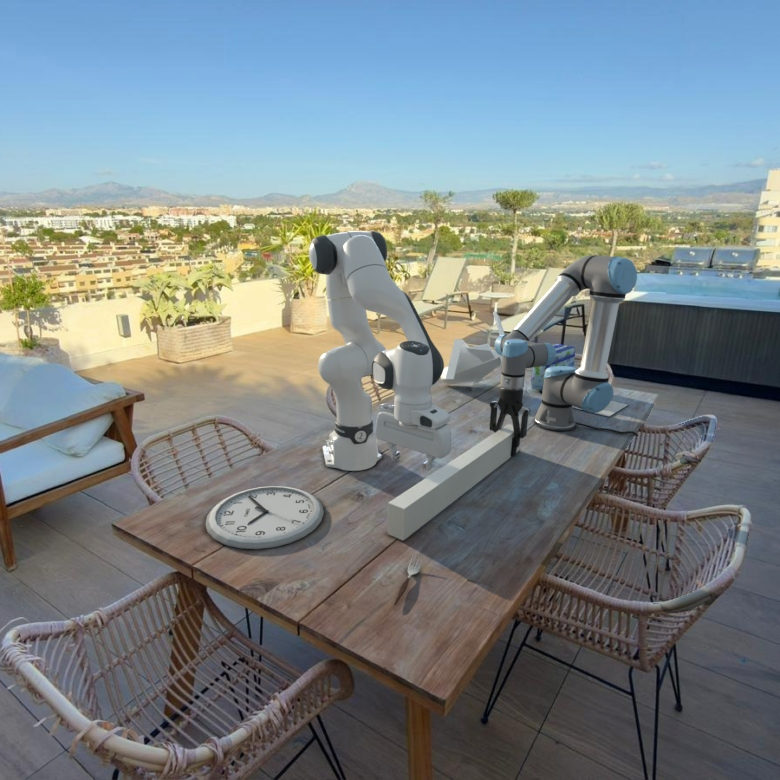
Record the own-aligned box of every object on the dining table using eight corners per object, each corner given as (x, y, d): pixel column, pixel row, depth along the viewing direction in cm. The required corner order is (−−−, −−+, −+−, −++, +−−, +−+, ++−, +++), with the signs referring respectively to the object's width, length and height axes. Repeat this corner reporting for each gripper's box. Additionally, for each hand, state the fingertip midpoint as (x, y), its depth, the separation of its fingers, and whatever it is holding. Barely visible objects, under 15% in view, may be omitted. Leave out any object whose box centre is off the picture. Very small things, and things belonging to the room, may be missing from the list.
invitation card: (608, 416, 214) (573, 407, 224) (608, 416, 214) (573, 408, 224) (628, 404, 229) (594, 396, 238) (628, 405, 229) (594, 397, 238)
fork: (388, 605, 105) (388, 597, 104) (412, 560, 119) (412, 553, 119) (400, 609, 104) (400, 600, 104) (423, 563, 119) (423, 555, 118)
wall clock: (321, 540, 123) (190, 545, 121) (321, 546, 124) (191, 551, 121) (325, 481, 152) (219, 484, 149) (325, 486, 152) (220, 489, 150)
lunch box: (547, 396, 238) (552, 351, 232) (526, 391, 246) (531, 347, 239) (574, 385, 256) (579, 343, 250) (554, 380, 263) (559, 340, 257)
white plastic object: (461, 429, 252) (437, 405, 227) (444, 352, 274) (420, 323, 250) (535, 404, 240) (518, 377, 215) (510, 326, 262) (492, 293, 237)
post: (506, 447, 183) (508, 423, 180) (519, 450, 180) (521, 426, 178) (387, 534, 130) (388, 502, 127) (403, 540, 127) (404, 509, 125)
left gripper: (370, 404, 127) (369, 456, 131) (442, 424, 115) (439, 480, 120) (385, 398, 132) (384, 448, 136) (456, 416, 120) (453, 471, 124)
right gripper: (481, 384, 172) (476, 449, 179) (533, 395, 162) (526, 464, 169) (491, 379, 178) (486, 442, 185) (542, 390, 168) (535, 456, 175)
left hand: (410, 464), depth 128 cm, fingers open, 8 cm apart
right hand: (505, 452), depth 177 cm, fingers closed on post, 5 cm apart
